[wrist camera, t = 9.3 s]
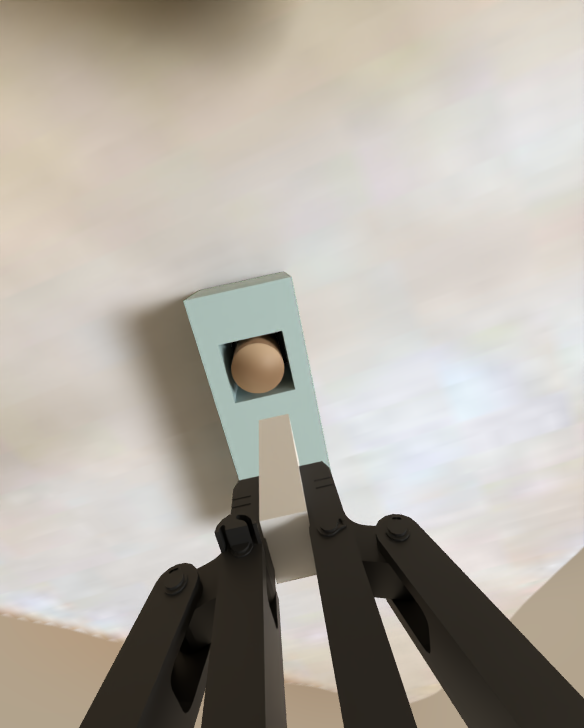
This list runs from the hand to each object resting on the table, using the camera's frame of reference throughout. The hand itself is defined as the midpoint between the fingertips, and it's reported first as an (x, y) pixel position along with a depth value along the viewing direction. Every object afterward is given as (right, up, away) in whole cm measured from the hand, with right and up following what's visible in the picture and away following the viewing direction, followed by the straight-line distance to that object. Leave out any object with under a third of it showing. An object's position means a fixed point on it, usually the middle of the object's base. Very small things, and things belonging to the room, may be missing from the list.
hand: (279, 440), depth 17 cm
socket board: (-2, 0, +23) cm, 23 cm away
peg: (-3, +6, +20) cm, 21 cm away
